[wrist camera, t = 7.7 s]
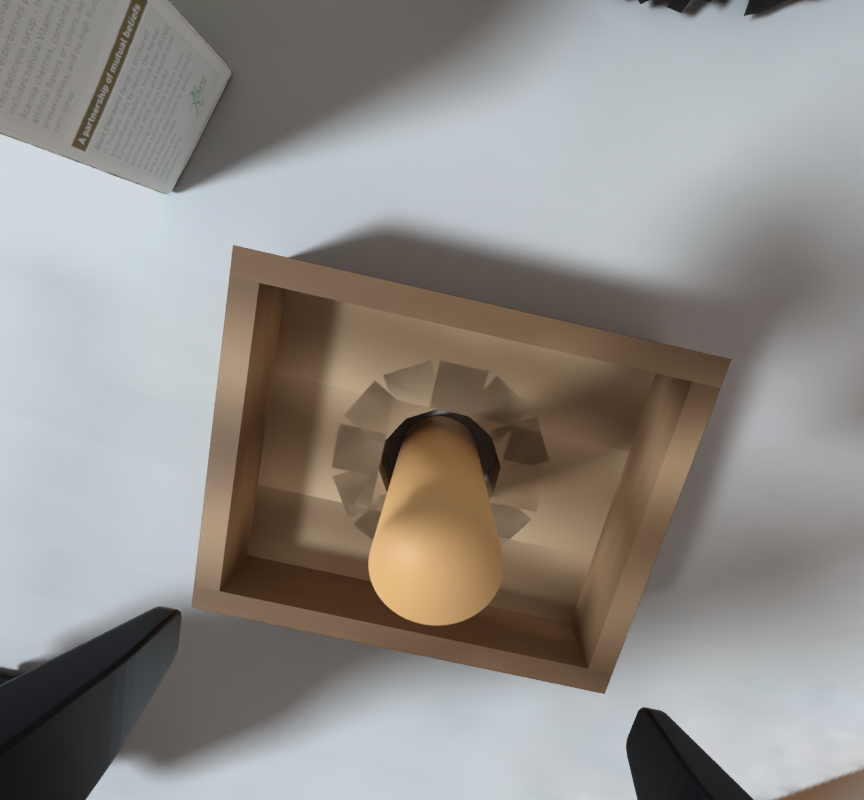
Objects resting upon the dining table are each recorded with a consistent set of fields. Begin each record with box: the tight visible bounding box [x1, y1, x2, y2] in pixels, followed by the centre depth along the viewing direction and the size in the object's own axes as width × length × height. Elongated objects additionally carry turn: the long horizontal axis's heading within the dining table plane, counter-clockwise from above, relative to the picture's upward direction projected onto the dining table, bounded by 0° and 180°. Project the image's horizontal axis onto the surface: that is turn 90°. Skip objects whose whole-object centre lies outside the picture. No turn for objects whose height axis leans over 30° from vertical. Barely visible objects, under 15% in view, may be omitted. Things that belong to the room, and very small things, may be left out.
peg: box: [368, 416, 504, 626], centre depth 16 cm, size 4×4×9 cm
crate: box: [192, 245, 731, 694], centre depth 18 cm, size 14×17×4 cm
